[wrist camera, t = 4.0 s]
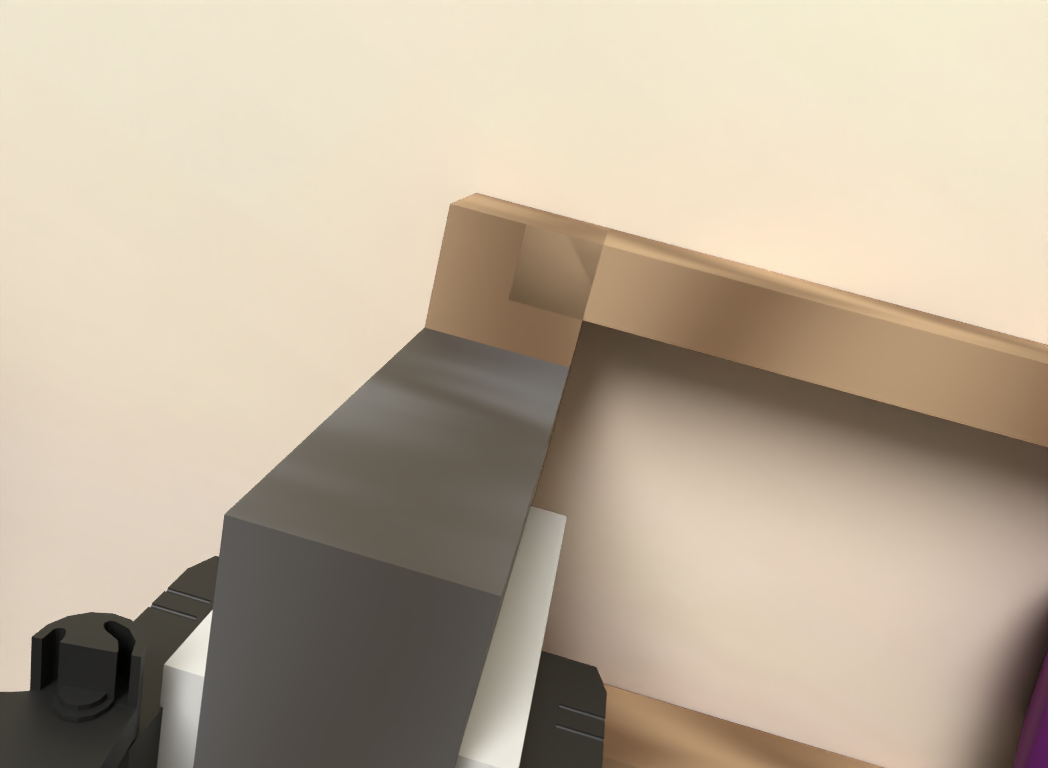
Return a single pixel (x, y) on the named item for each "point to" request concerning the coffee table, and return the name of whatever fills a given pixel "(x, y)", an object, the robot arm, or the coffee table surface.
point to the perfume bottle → (1035, 726)
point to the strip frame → (519, 488)
